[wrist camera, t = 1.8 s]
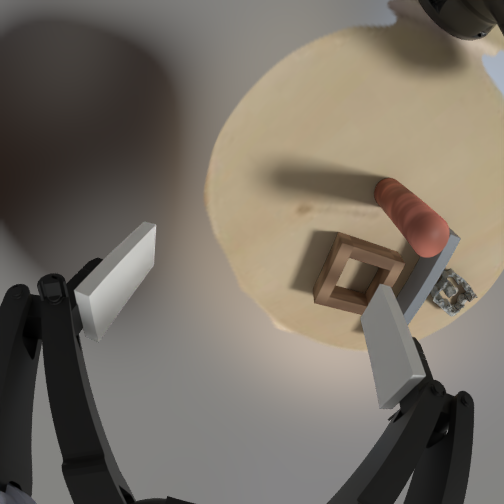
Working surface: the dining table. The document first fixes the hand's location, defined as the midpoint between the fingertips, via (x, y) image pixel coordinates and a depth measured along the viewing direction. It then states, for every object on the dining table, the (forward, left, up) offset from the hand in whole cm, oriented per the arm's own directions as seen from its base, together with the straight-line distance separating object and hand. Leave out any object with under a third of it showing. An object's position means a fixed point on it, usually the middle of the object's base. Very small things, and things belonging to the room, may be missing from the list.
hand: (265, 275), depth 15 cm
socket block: (+13, +18, -29) cm, 36 cm away
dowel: (-2, +17, -29) cm, 34 cm away
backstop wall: (+12, +30, -29) cm, 43 cm away
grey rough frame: (+11, +41, -29) cm, 51 cm away
